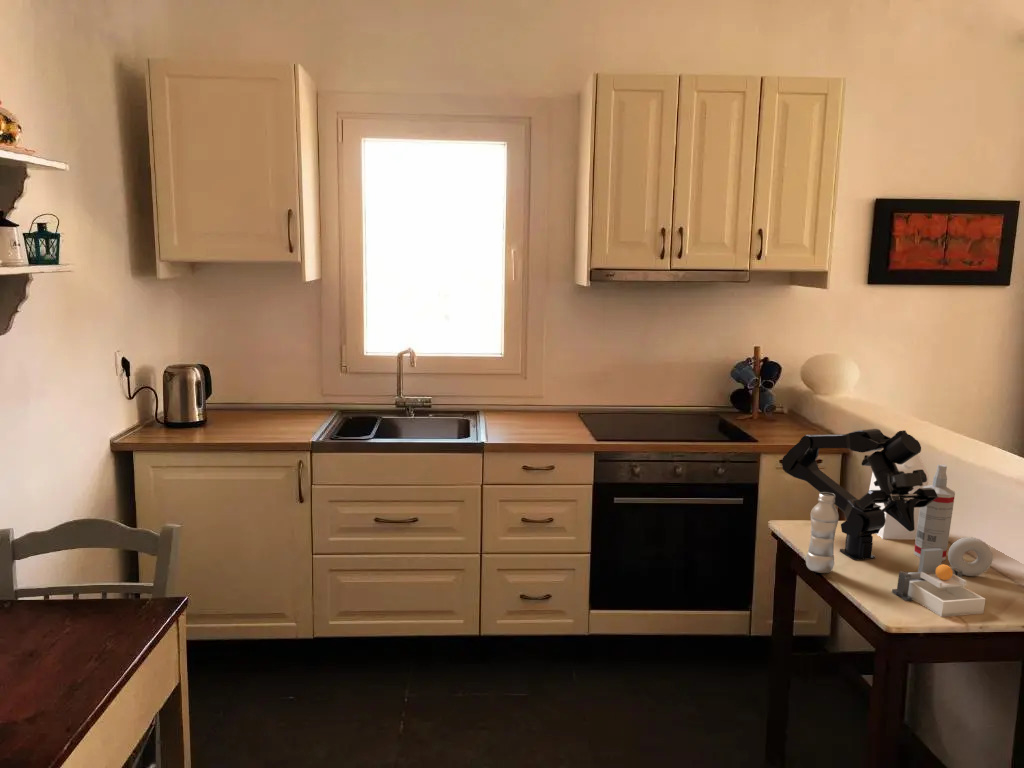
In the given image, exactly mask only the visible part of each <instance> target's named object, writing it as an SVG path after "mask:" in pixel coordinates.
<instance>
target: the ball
mask: <svg viewBox="0 0 1024 768" xmlns="http://www.w3.org/2000/svg"><path fill="white" fill-rule="evenodd" d="M951 568H952V567H950V566H949V565H947V564H945V563H944V564H942V563H941V565H939V566H938V567H937V568H936V571H935V572H936V575H937V577H938V578H940V579H942V580H948V579H950V578H951V577H952V575H953V571H952V569H951Z"/></svg>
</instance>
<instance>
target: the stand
mask: <svg viewBox="0 0 1024 768" xmlns="http://www.w3.org/2000/svg"><path fill="white" fill-rule="evenodd" d="M950 568H951V569H952V570H954V571H955V575H956V576H958V577H960V578H962V579H963V575H962V572H963V571H961V570H959V569H957V568H953V567H950ZM908 573H909V572H906V571H905V570H904V571H899V572H898V578H897V586H896V588H892V590H891V593H892V594H893V595H896V596H897V597H899V598H900V599H902V600H904V601H905V602H906V601H909V602H913V599H912V597H910V596H908V590H909V582H910V574H908Z"/></svg>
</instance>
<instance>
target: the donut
mask: <svg viewBox="0 0 1024 768" xmlns="http://www.w3.org/2000/svg"><path fill="white" fill-rule="evenodd" d="M971 551H972V552H974V553H975V554H976V556H977V557H976V559H975V560H974V561H972V562H971V561H970V562H969V561H965V559H964V555H965V554H966V553H967V552H971ZM947 560H948V562H949V565H950V566H951V568H957V569H959V570H961V571H963V572H962V576H967V577H976V576H980V575H982V574H984V573H986V572H987V571H988V570H989V568H991V566H992V564H993V561H994V559H993V551H992V550H991V547H990V546H989V545H988V544H987V543H986V542H985V541H983V540H982V539H980V538H976V537H973V536H969V537H968V536H967V537H966V536H964V537H962V538H958V539H957V540H955V541H954V542H953V543H952V544H951V546H950V547H949V549H948V551H947Z"/></svg>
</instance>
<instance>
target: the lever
mask: <svg viewBox="0 0 1024 768" xmlns="http://www.w3.org/2000/svg"><path fill="white" fill-rule="evenodd" d="M942 554H943V550H942V549H940V548H932V549H921V555H920V557H919V563H918V570H917V571H916V572H907V573H908V574H910V581H917V580H926V581H928V582H930V583H931V584H933V585H935V586H937V587H938V588H945V587H958V586H963V587H966V586H967V582H968V581H967V580H966V579H963V577H962V578H960V577H958V576H956V575H955V571H954V570H952V571H953V575H952V577H951V578H950V579H948V580H942V579H940V578H938V577H937V575H936V572H935V571H936V568H937V567H938V566H939V565H942V562H943V561H942Z"/></svg>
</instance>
